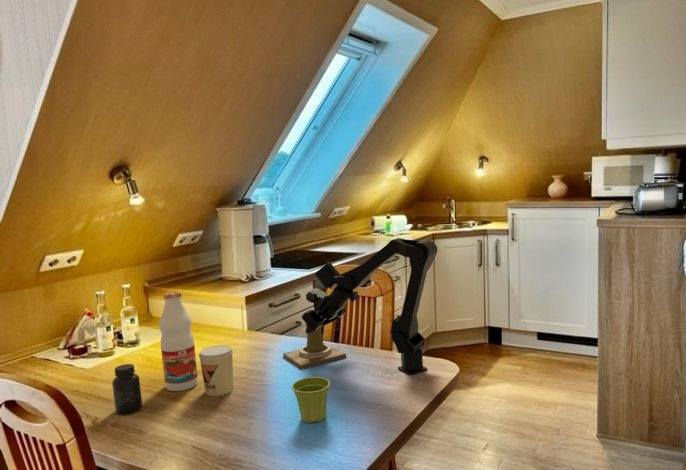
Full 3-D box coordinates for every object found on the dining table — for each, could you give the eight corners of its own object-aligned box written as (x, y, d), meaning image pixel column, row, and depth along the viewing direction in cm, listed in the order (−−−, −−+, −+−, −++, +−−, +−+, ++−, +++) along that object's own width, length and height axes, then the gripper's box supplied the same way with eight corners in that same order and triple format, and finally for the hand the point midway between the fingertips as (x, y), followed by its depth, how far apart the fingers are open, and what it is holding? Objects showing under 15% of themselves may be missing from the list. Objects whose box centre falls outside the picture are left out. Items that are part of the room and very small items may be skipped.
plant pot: (318, 429, 130) (315, 394, 129) (286, 422, 135) (284, 388, 134) (339, 413, 138) (337, 380, 137) (309, 406, 143) (306, 374, 142)
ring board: (346, 357, 178) (345, 350, 177) (301, 369, 170) (301, 361, 170) (326, 346, 190) (325, 339, 190) (283, 356, 182) (282, 349, 182)
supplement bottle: (122, 404, 152) (117, 363, 150) (146, 403, 151) (141, 361, 150) (111, 416, 145) (105, 372, 143) (136, 414, 145) (131, 371, 143)
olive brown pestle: (328, 349, 181) (326, 316, 180) (314, 354, 177) (312, 321, 175) (316, 346, 185) (314, 314, 184) (302, 351, 181) (300, 318, 180)
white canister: (196, 392, 157) (192, 351, 156) (223, 381, 164) (219, 342, 162) (215, 400, 151) (210, 358, 149) (242, 388, 157) (239, 348, 156)
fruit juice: (195, 377, 169) (186, 287, 166) (201, 387, 161) (191, 293, 157) (163, 383, 165) (153, 292, 162) (167, 394, 157) (157, 298, 153)
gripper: (335, 275, 184) (310, 305, 191) (304, 287, 168) (278, 320, 175) (357, 299, 181) (331, 329, 188) (328, 314, 165) (300, 346, 172)
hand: (310, 330), depth 181 cm, fingers closed on olive brown pestle, 5 cm apart
